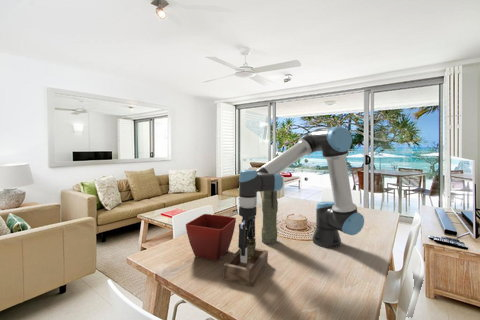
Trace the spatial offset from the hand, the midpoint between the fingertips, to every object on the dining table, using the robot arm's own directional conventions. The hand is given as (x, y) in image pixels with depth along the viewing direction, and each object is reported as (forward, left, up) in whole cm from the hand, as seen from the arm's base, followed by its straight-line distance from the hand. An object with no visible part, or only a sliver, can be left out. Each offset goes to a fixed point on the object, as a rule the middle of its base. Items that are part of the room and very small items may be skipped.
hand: (246, 258), depth 102 cm
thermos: (0, -35, -6) cm, 36 cm away
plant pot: (+22, -8, -6) cm, 24 cm away
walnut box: (0, 0, -5) cm, 5 cm away
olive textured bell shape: (0, 0, 0) cm, 0 cm away
